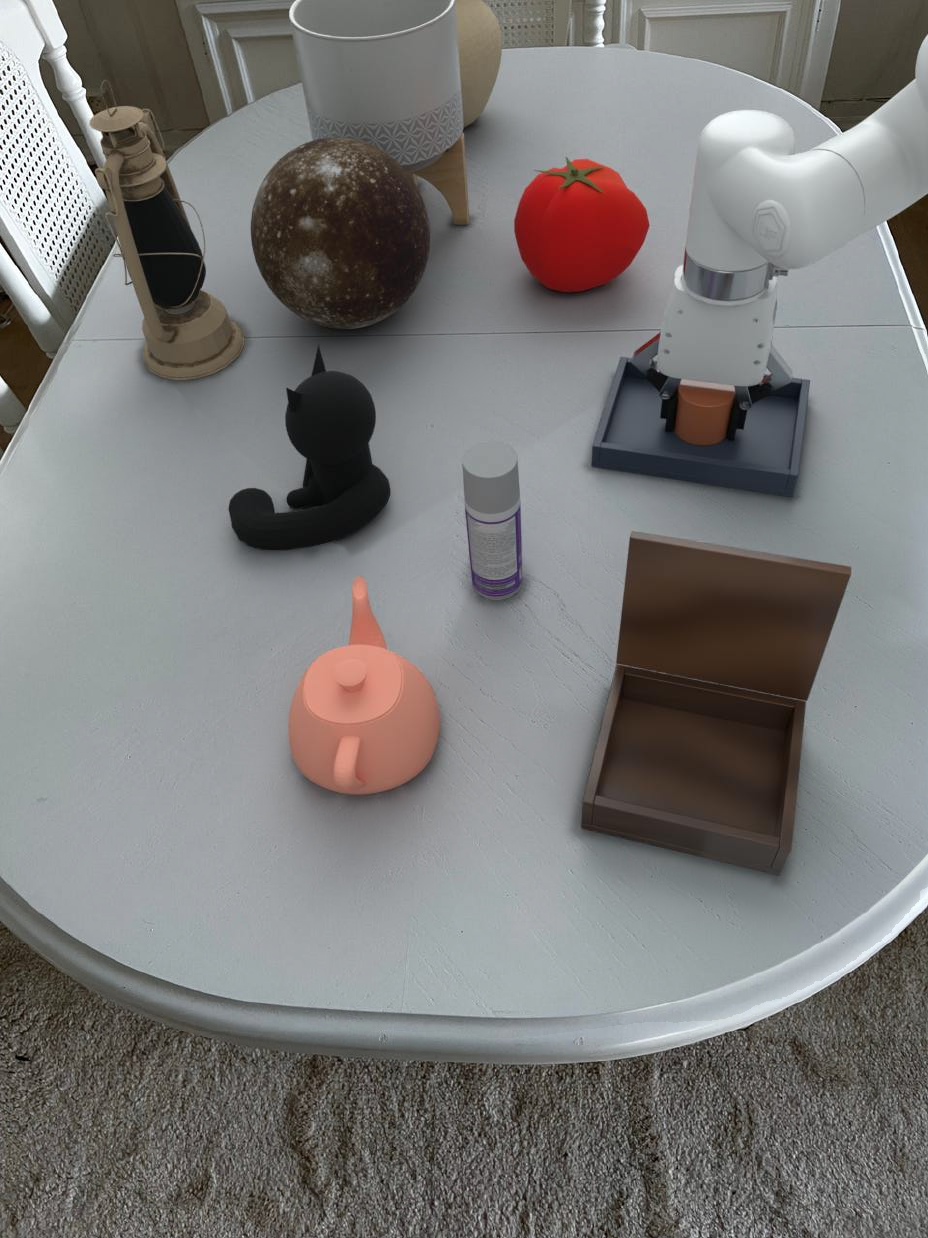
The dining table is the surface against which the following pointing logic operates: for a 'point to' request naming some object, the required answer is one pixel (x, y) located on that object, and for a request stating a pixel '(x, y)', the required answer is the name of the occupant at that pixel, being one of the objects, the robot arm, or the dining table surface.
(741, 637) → the lid
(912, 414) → the dining table surface
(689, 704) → the brown wooden shallow box
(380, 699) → the teapot
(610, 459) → the tray
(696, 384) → the orange cylinder puck
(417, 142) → the planter
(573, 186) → the tomato
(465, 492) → the container
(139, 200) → the lantern
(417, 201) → the decorative sphere
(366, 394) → the figurine
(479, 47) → the vase
